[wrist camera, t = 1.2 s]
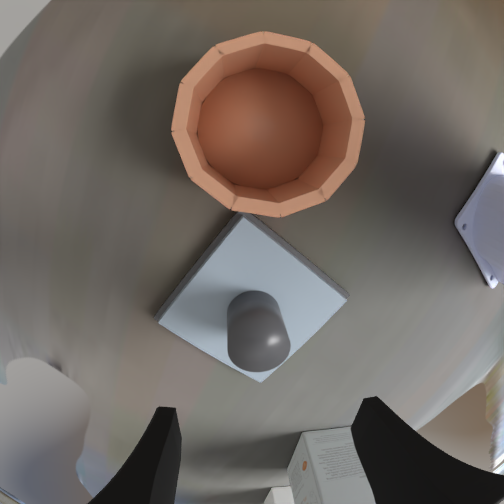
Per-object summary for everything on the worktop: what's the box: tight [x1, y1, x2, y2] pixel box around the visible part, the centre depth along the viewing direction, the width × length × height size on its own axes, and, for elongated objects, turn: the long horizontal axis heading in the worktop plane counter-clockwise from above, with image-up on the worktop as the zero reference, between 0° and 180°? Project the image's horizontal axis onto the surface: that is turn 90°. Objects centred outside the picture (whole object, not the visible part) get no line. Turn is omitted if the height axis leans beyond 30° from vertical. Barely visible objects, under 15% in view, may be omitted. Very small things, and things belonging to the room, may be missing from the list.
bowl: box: [171, 31, 365, 218], centre depth 13 cm, size 8×8×4 cm
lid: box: [158, 215, 347, 383], centre depth 16 cm, size 8×8×4 cm
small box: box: [287, 426, 376, 504], centre depth 19 cm, size 8×6×13 cm
